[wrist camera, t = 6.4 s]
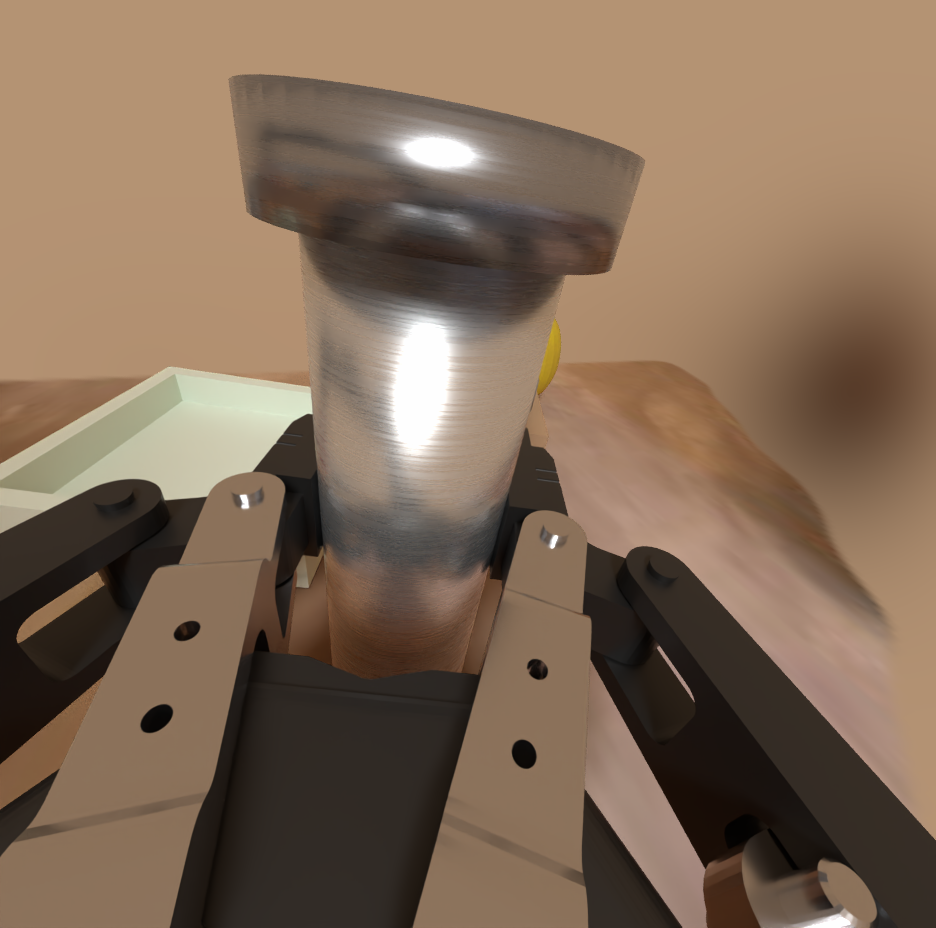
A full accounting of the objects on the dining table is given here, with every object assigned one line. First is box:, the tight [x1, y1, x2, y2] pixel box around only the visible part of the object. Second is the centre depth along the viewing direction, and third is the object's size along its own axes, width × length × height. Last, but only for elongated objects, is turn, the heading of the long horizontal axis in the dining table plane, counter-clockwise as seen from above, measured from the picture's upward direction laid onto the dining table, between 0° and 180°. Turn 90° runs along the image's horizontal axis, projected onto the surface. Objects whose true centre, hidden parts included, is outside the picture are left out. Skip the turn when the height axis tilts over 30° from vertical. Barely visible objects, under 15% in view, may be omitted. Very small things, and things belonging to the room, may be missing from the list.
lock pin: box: [229, 75, 645, 679], centre depth 9 cm, size 5×5×14 cm
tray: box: [0, 367, 324, 588], centre depth 20 cm, size 12×12×2 cm
